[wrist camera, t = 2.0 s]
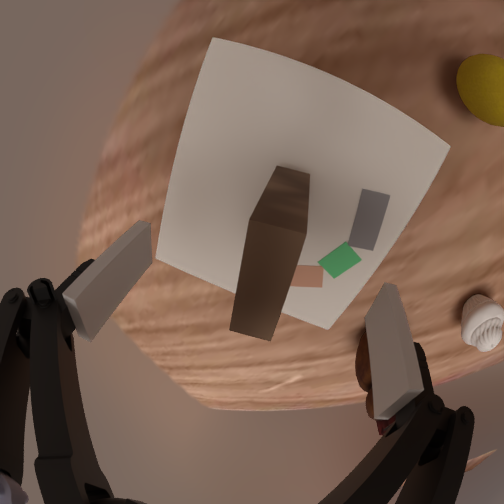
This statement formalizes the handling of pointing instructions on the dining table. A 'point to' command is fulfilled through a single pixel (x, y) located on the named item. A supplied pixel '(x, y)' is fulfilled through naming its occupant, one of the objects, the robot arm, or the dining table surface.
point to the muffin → (482, 322)
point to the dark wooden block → (271, 253)
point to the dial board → (297, 158)
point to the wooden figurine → (368, 382)
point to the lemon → (483, 87)
